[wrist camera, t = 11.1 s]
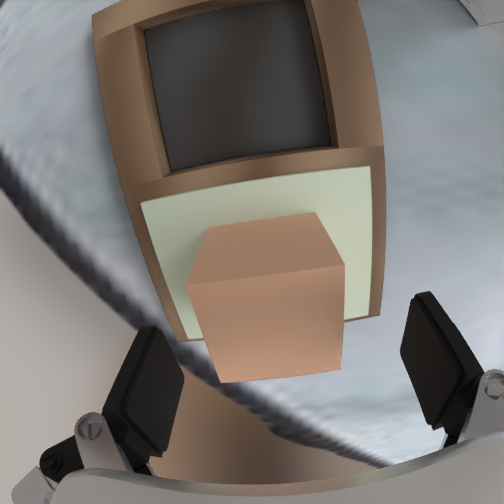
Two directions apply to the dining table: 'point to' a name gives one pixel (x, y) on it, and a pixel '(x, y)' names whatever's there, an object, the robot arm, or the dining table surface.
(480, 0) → the small box
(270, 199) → the hole board
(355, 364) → the dining table surface
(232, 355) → the terracotta cube
